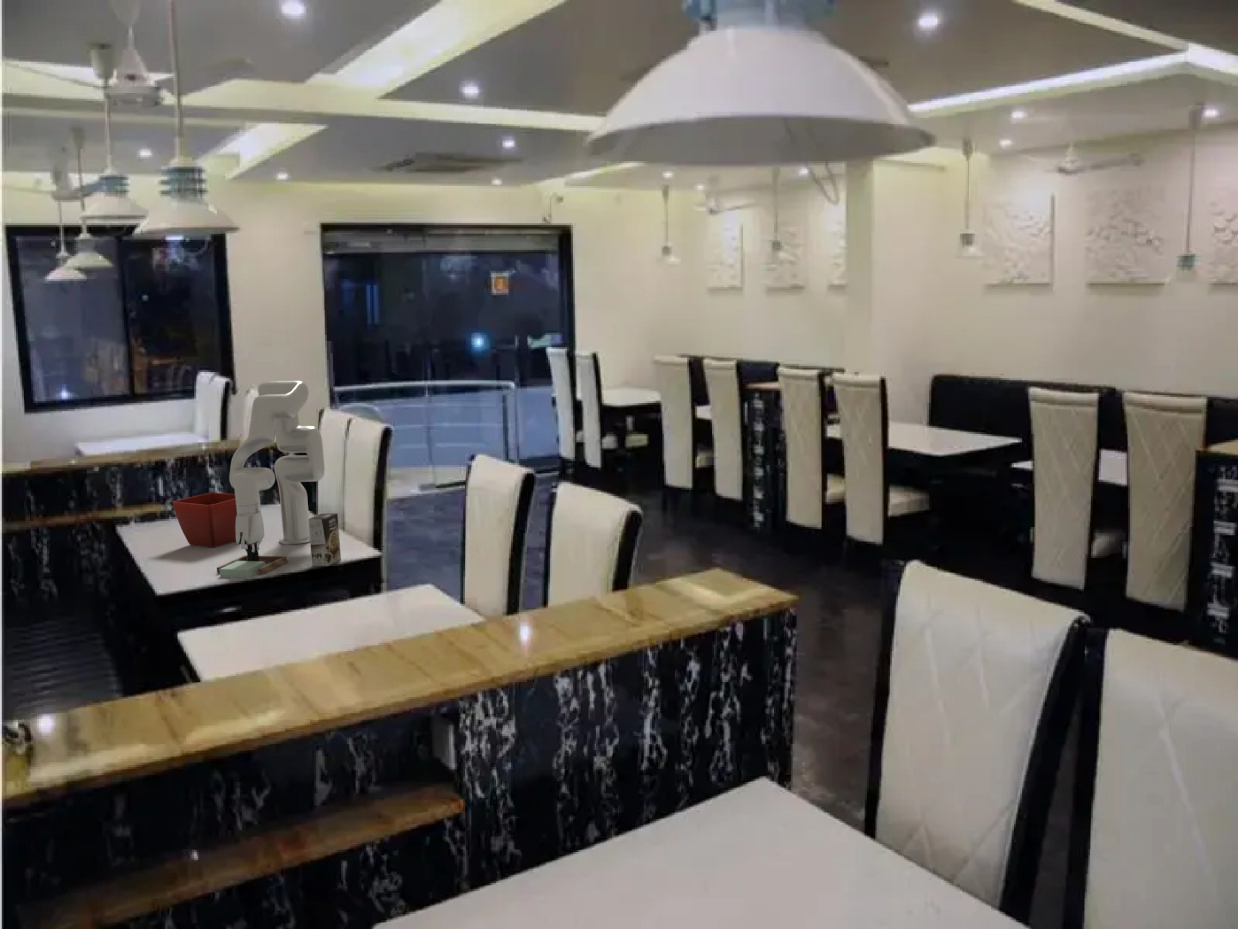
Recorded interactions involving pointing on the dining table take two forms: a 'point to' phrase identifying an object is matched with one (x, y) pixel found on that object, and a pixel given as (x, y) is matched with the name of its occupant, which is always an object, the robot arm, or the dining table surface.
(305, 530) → the robot arm
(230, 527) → the plant pot
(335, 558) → the coffee box
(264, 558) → the u-shaped wooden frame
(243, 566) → the cover plate
